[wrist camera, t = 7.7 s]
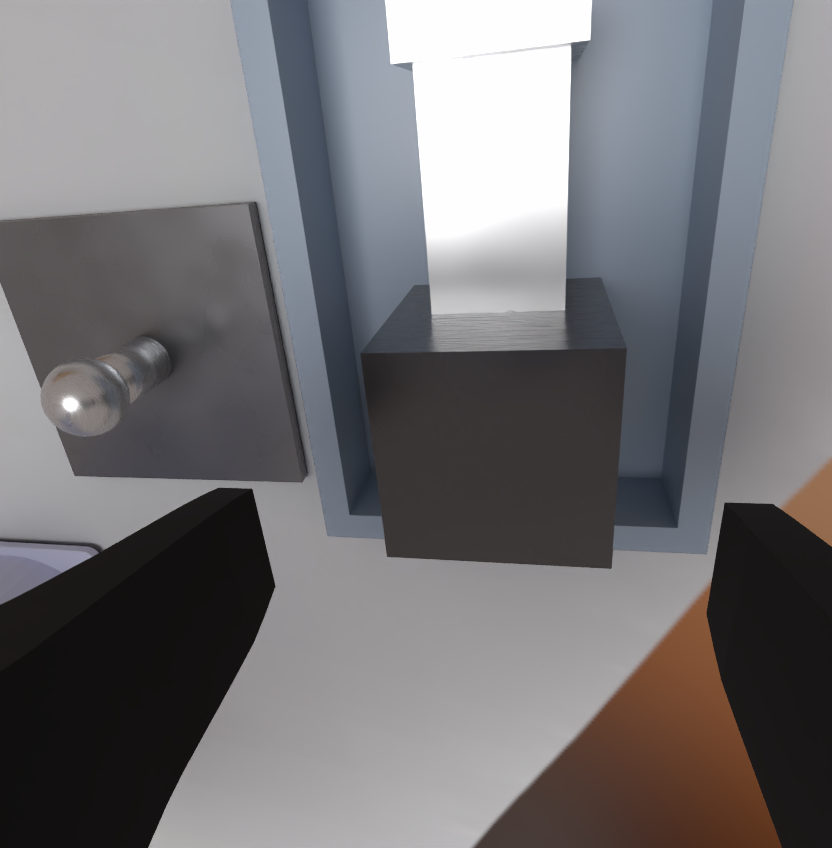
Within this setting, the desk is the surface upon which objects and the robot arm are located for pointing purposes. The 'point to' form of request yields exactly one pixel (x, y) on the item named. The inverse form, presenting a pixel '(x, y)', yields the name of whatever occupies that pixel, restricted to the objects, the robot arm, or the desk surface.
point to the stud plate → (156, 342)
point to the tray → (586, 224)
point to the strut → (496, 305)
